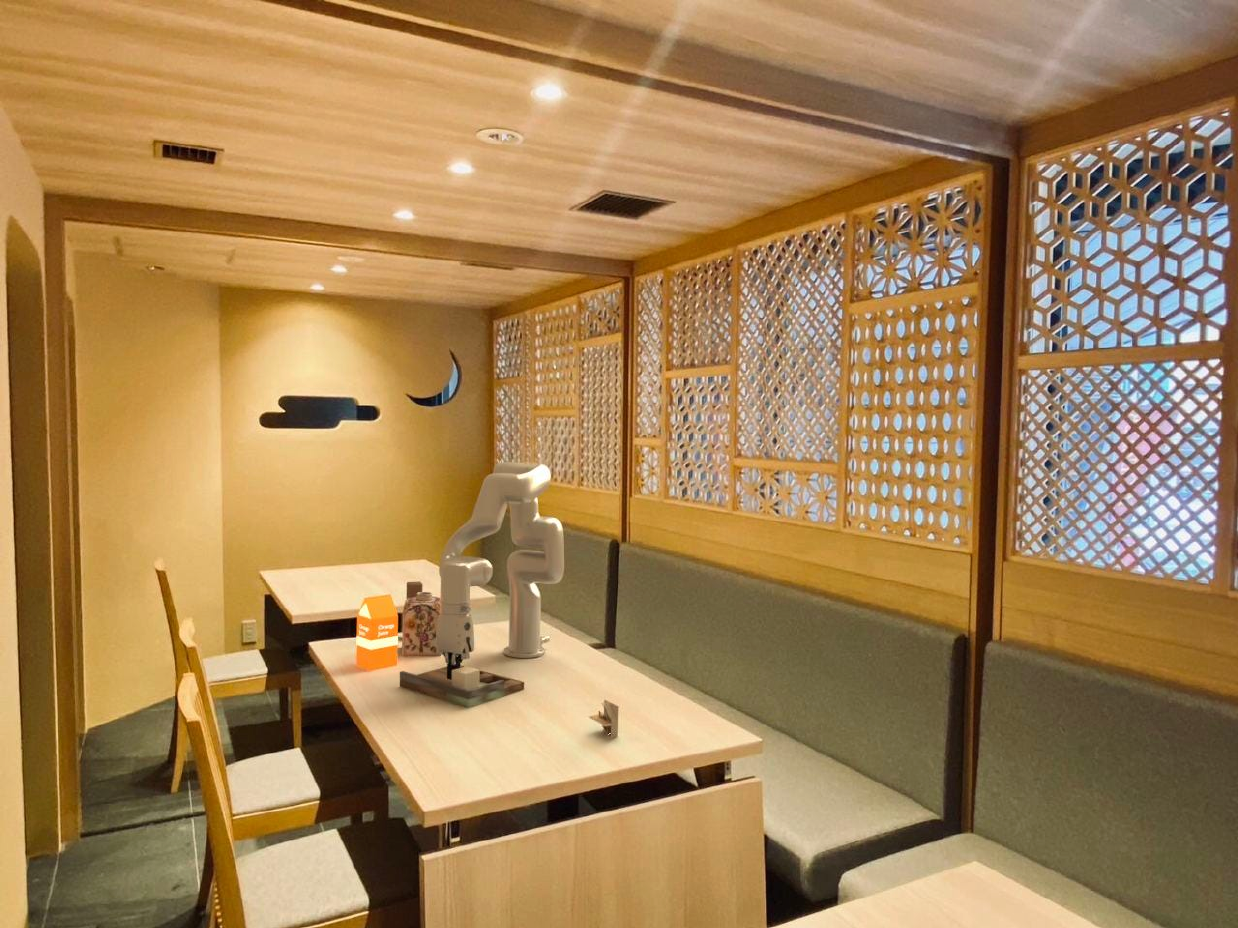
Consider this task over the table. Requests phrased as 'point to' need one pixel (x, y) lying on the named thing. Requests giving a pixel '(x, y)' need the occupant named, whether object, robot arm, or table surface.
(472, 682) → the block
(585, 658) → the table surface
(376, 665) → the orange juice
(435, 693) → the board
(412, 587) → the wooden block
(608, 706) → the architectural model
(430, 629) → the decorative jar
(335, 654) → the table surface
